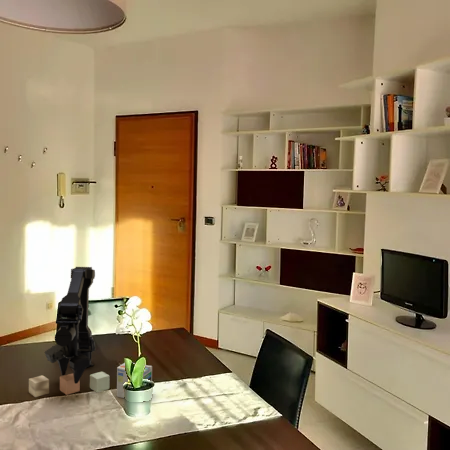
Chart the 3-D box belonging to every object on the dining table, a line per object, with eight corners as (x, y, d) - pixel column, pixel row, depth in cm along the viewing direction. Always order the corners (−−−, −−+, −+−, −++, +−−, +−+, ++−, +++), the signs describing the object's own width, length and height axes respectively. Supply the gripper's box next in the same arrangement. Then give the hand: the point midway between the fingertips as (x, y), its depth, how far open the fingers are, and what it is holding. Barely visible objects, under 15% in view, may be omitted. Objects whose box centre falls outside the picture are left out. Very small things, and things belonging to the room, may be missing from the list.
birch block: (42, 388, 188) (42, 375, 187) (49, 393, 184) (49, 379, 184) (28, 392, 184) (28, 378, 184) (35, 397, 181) (35, 383, 180)
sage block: (102, 384, 193) (102, 371, 192) (109, 389, 189) (109, 375, 189) (89, 388, 190) (89, 374, 189) (97, 392, 186) (97, 379, 185)
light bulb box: (152, 394, 186) (153, 365, 185) (143, 402, 180) (144, 372, 178) (125, 389, 189) (126, 360, 188) (115, 397, 183) (116, 367, 182)
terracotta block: (72, 386, 190) (72, 373, 190) (79, 391, 187) (79, 377, 186) (59, 390, 187) (59, 376, 186) (66, 395, 183) (66, 381, 183)
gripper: (35, 334, 186) (36, 376, 187) (61, 348, 172) (61, 394, 174) (65, 328, 193) (65, 369, 195) (91, 341, 180) (91, 385, 182)
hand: (69, 379), depth 186 cm, fingers open, 9 cm apart
